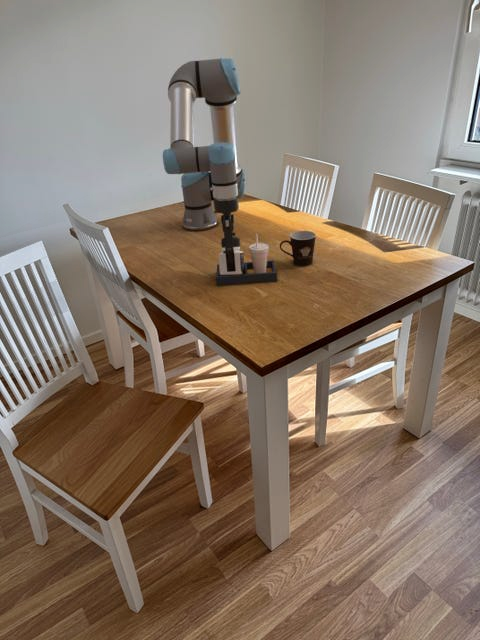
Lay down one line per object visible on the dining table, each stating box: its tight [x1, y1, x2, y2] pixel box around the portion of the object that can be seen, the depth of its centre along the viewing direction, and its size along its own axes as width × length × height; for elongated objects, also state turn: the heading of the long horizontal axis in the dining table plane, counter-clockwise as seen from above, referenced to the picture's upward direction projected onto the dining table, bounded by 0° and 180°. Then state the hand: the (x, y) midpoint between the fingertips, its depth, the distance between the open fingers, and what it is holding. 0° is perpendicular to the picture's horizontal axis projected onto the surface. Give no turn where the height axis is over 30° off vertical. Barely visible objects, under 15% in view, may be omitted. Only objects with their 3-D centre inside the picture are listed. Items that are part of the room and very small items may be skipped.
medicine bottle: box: [218, 236, 245, 275], centre depth 149 cm, size 7×7×12 cm
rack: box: [215, 260, 278, 287], centre depth 151 cm, size 10×19×3 cm, turn 91°
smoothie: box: [248, 233, 270, 273], centre depth 147 cm, size 6×6×14 cm
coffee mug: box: [279, 230, 317, 267], centre depth 156 cm, size 12×9×10 cm
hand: (231, 263), depth 149 cm, fingers open, 12 cm apart
